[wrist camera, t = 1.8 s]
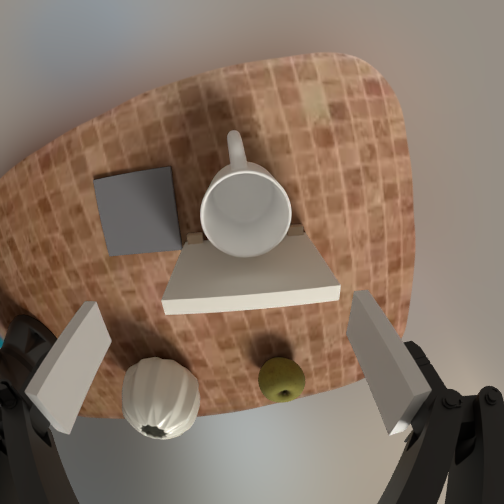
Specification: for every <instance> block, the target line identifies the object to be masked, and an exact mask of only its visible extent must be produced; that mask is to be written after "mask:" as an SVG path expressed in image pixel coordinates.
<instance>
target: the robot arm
mask: <svg viewBox="0 0 504 504" xmlns="http://www.w3.org/2000/svg"><path fill="white" fill-rule="evenodd" d="M346 335H347V337H348V339H349V341H350V343H351V346H352V348H353V350H354V352H355V355H356V357H357V359H358V361H359V364H360V366H361V368H362V371H363V373H364V375H365V378H366V380H367V382H368V385H369V387H370V390H371V392H372V394H373V397H374V399H375V402H376V404H377V406H378V409H379V412H380V414H381V417H382V419H383V422H384V424H385V427H386V430H387V432H388V435H392V434H396V433H399V432H402V431H405V430H406V428H407V427H408V425H409V424H410V423H411V425H412V428H413V430H412V431H411V433H410V434H409V435H408V437H407V438H406V439H405V441H404V442H407V444H406V446H405V449H404V451H403V454H402V456H401V458H400V460H399V463H398V465H397V467H396V469H395V471H394V473H393V475H392V477H391V479H390V481H389V483H388V485H387V487H386V489H385V491H384V493H383V495H382V496H381V498H380V500H379V502H378V504H437V502H438V499H439V497H440V494H441V492H442V489H443V486H444V483H445V481H446V478H447V475H448V484H447V492H446V499H445V504H504V401H503V397H502V394H501V392H500V391H499V390H498V389H497V388H495V387H493V386H486V387H484V388H482V389H481V390H480V392H479V393H478V395H471V396H462V395H460V393H458V392H457V391H455V390H453V389H447V388H446V386H445V385H444V383H443V382H442V380H441V379H440V377H439V375H438V374H437V372H436V371H435V369H434V367H433V366H432V365H431V364H430V361H429V360H428V358H427V357H426V355H425V353H424V352H423V351H422V349H421V348H420V347H419V346H418V345H417V344H415V343H414V342H413V341H409V342H404V343H403V341H402V340H401V338H400V337H399V335H398V334H397V332H396V331H395V329H394V327H393V326H392V324H391V323H390V321H389V320H388V318H387V317H386V315H385V314H384V312H383V311H382V310H381V308H380V307H379V305H378V304H377V302H376V301H375V299H374V298H373V296H372V295H371V294H370V292H369V291H368V290H361V291H354V295H353V301H352V306H351V312H350V317H349V322H348V328H347V332H346ZM111 342H112V341H111V338H110V336H109V333H108V331H107V329H106V326H105V324H104V321H103V318H102V316H101V313H100V310H99V308H98V305H97V302H94V301H85V302H84V303H83V305H82V306H81V307H80V309H79V310H78V311H77V313H76V314H75V315H74V317H73V318H72V320H71V321H70V322H69V324H68V325H67V327H66V328H65V329H64V331H63V332H62V334H61V335H60V336H59V338H58V339H56V338H55V336H54V335H53V334H52V333H51V332H50V331H49V330H48V329H47V328H46V327H45V326H44V325H43V324H41V323H40V322H39V321H37V320H35V319H34V318H32V317H29V316H26V315H18V316H16V317H15V318H14V320H13V321H12V322H11V323H10V325H9V327H8V331H7V333H6V336H5V339H4V343H3V346H2V348H1V349H0V504H79V502H78V500H77V498H76V496H75V494H74V492H73V489H72V487H71V485H70V482H69V480H68V478H67V475H66V473H65V470H64V468H63V465H62V462H61V460H60V457H59V454H58V451H57V448H56V445H55V442H54V438H53V435H52V432H51V430H50V429H49V425H50V423H51V424H52V425H53V427H54V428H55V429H56V430H57V431H60V432H63V433H66V434H70V432H71V430H72V427H73V425H74V422H75V420H76V417H77V415H78V412H79V410H80V408H81V405H82V403H83V401H84V398H85V396H86V394H87V392H88V390H89V387H90V385H91V383H92V381H93V379H94V376H95V374H96V372H97V370H98V368H99V366H100V364H101V362H102V360H103V358H104V356H105V354H106V352H107V350H108V348H109V346H110V344H111ZM448 472H449V473H448Z"/></svg>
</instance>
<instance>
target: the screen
mask: <svg viewBox="0 0 504 504" xmlns="http://www.w3.org/2000/svg"><path fill="white" fill-rule="evenodd" d="M340 286H341V285H340V283H339V282H338V280H337V279H336V277H335V276H334V274H333V273H332V271H331V270H330V268H329V266H328V265H327V263H326V262H325V260H324V259H323V257H322V256H321V254H320V253H319V251H318V250H317V249H316V247H315V246H314V244H313V243H312V241H311V240H310V238H309V237H308V235H307V234H306V232H303V225H302V224H294V225H290V226H289V229H288V231H287V234H286V235H285V237H284V238H283V239H282V241H281V242H280V243H279V244H278V245H277V246H276V247H274V248H273V249H272V250H270V251H268V252H267V253H264V254H262V255H259V256H255V257H247V258H244V257H235V256H232V255H229V254H226V253H224V252H222V251H221V250H219V249H218V248H216V247H215V246H214V245H213V244H212V243H211V242H210V241H209V240H204V239H203V232H196V233H188V234H187V242H185V244H184V246H183V249H182V251H181V253H180V256H179V258H178V260H177V263H176V265H175V268H174V270H173V273H172V275H171V277H170V280H169V282H168V285H167V287H166V290H165V292H164V295H163V298H162V300H161V301H162V304H163V308H164V312H165V315H173V314H194V313H211V312H226V311H240V310H252V309H263V308H274V307H284V306H293V305H302V304H311V303H319V302H327V301H335V300H339V296H340Z"/></svg>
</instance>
